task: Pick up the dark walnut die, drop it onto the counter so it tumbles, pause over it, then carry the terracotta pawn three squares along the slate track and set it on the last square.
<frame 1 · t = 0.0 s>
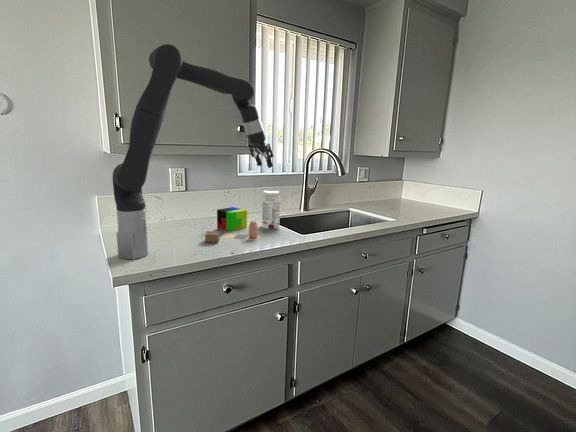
hand: (265, 166, 147), 31 cm above the worktop, tool tilted 20°, fingers open, 8 cm apart
puzzle toy: (232, 230, 159), on the worktop
white supplement bottle: (270, 229, 162), on the worktop
pawn: (253, 237, 142), point 1 cm above the worktop, touching track
track: (235, 239, 144), on the worktop
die: (212, 244, 136), on the worktop
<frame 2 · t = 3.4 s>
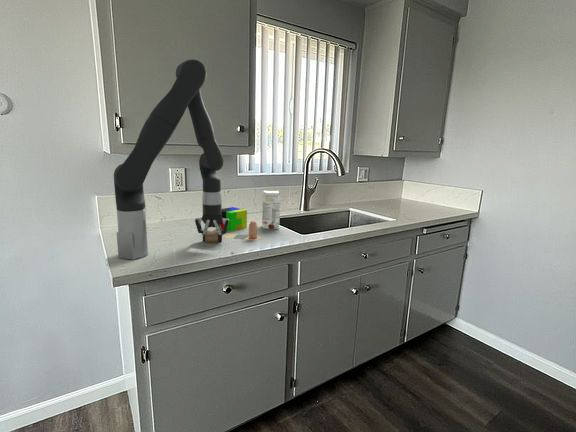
hand: (212, 242, 135), 1 cm above the worktop, tool pointing down, fingers closed on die, 5 cm apart
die: (212, 244, 136), on the worktop, touching gripper
everything else where it was.
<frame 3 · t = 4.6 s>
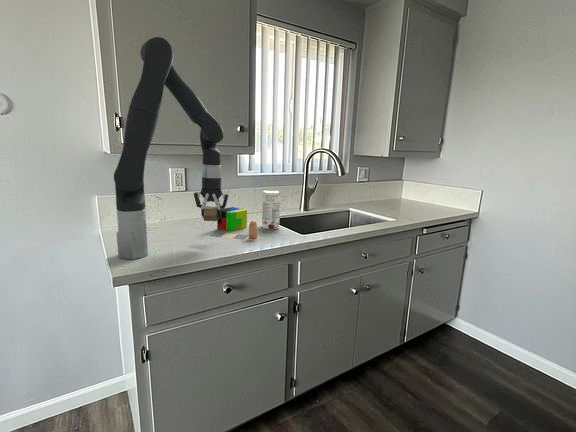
hand: (211, 217, 133), 11 cm above the worktop, tool pointing down, fingers closed on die, 5 cm apart
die: (211, 219, 133), point 10 cm above the worktop, touching gripper
everything else where it was.
when the fingers open (12 cm above the worktop, at t = 5.7 s): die drops 12 cm, on the worktop.
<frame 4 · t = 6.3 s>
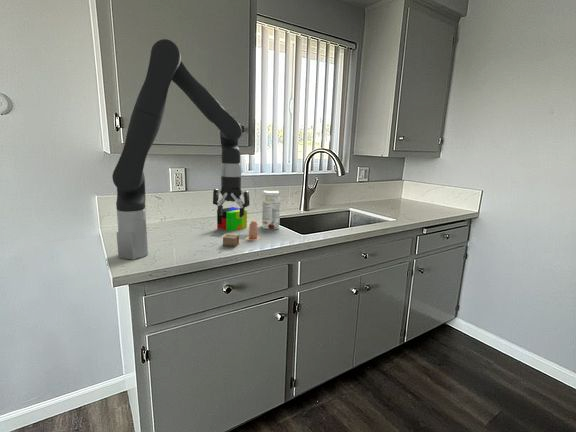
hand: (231, 216, 129), 13 cm above the worktop, tool pointing down, fingers open, 8 cm apart
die: (231, 248, 132), on the worktop
everything else where it was.
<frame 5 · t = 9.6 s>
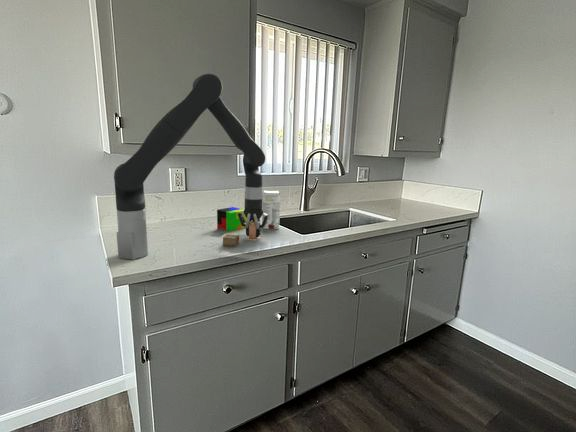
hand: (253, 236, 142), 2 cm above the worktop, tool pointing down, fingers closed on pawn, 3 cm apart
pawn: (253, 237, 142), point 1 cm above the worktop, touching gripper, track
everything else where it was.
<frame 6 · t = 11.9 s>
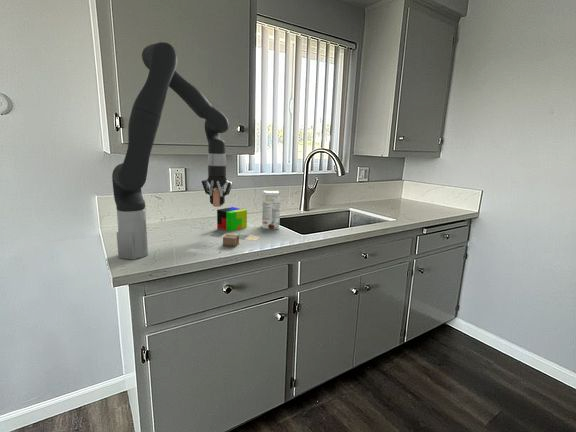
hand: (217, 204, 142), 15 cm above the worktop, tool pointing down, fingers closed on pawn, 3 cm apart
pawn: (217, 205, 142), point 14 cm above the worktop, touching gripper
everything else where it was.
when the fingers open (4 cm above the worktop, at t = 14.4 s): pawn drops 1 cm, resting on track.
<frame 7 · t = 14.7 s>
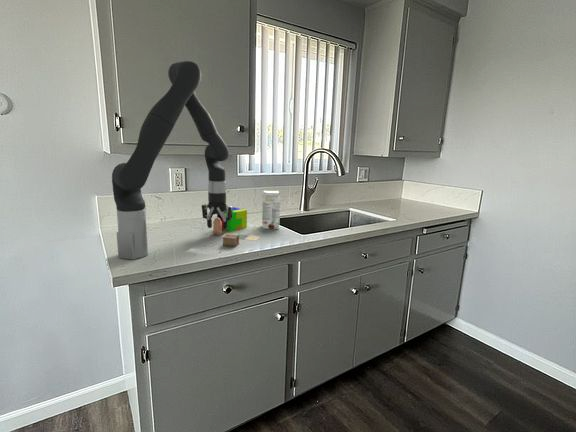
hand: (217, 228, 145), 4 cm above the worktop, tool pointing down, fingers open, 6 cm apart
pawn: (217, 234, 145), point 1 cm above the worktop, touching track
everything else where it was.
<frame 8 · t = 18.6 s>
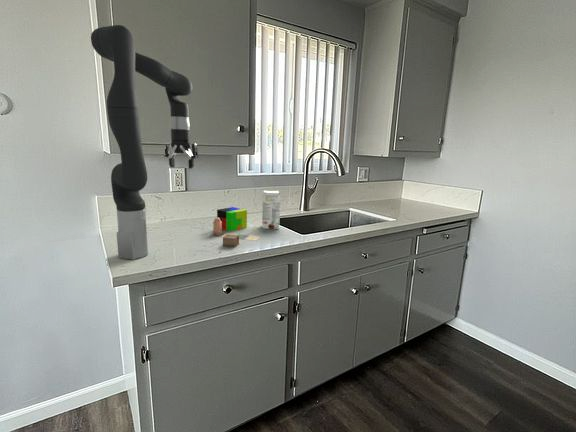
hand: (181, 167, 139), 30 cm above the worktop, tool pointing down, fingers open, 8 cm apart
nothing on the worktop moved.
at the end: pawn inside the target area (0.1 cm from its centre), point 1.3 cm above the worktop; pawn tilted 0°; the gripper is holding nothing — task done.
